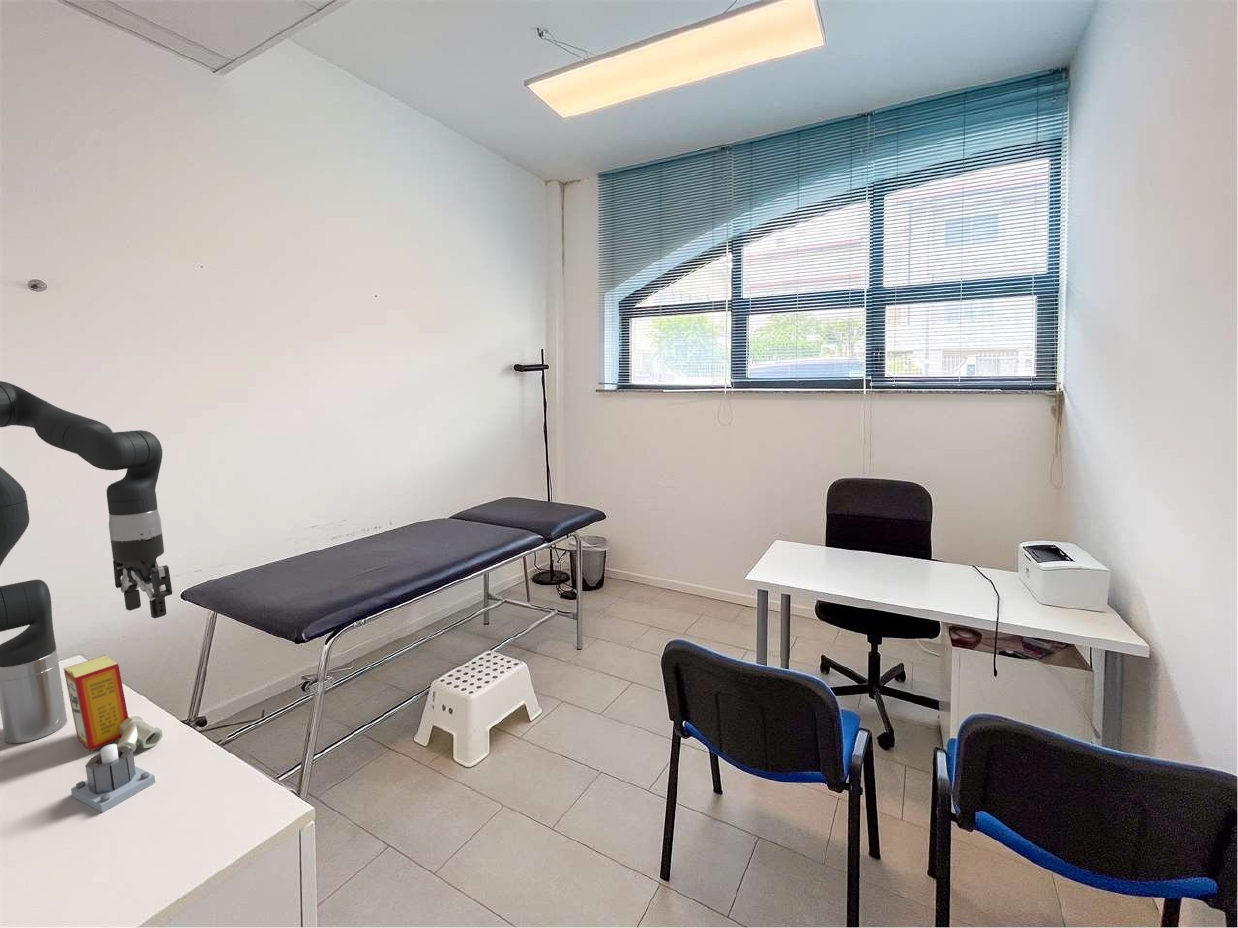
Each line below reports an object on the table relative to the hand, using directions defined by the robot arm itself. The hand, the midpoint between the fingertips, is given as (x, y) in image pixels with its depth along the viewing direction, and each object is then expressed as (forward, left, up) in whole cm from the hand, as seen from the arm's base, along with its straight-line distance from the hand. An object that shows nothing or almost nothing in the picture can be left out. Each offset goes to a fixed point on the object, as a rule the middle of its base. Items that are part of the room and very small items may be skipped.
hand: (146, 612), depth 107 cm
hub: (+4, -10, -29) cm, 31 cm away
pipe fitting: (-7, -2, -30) cm, 31 cm away
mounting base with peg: (+4, -10, -30) cm, 32 cm away
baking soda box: (-16, -3, -30) cm, 34 cm away
